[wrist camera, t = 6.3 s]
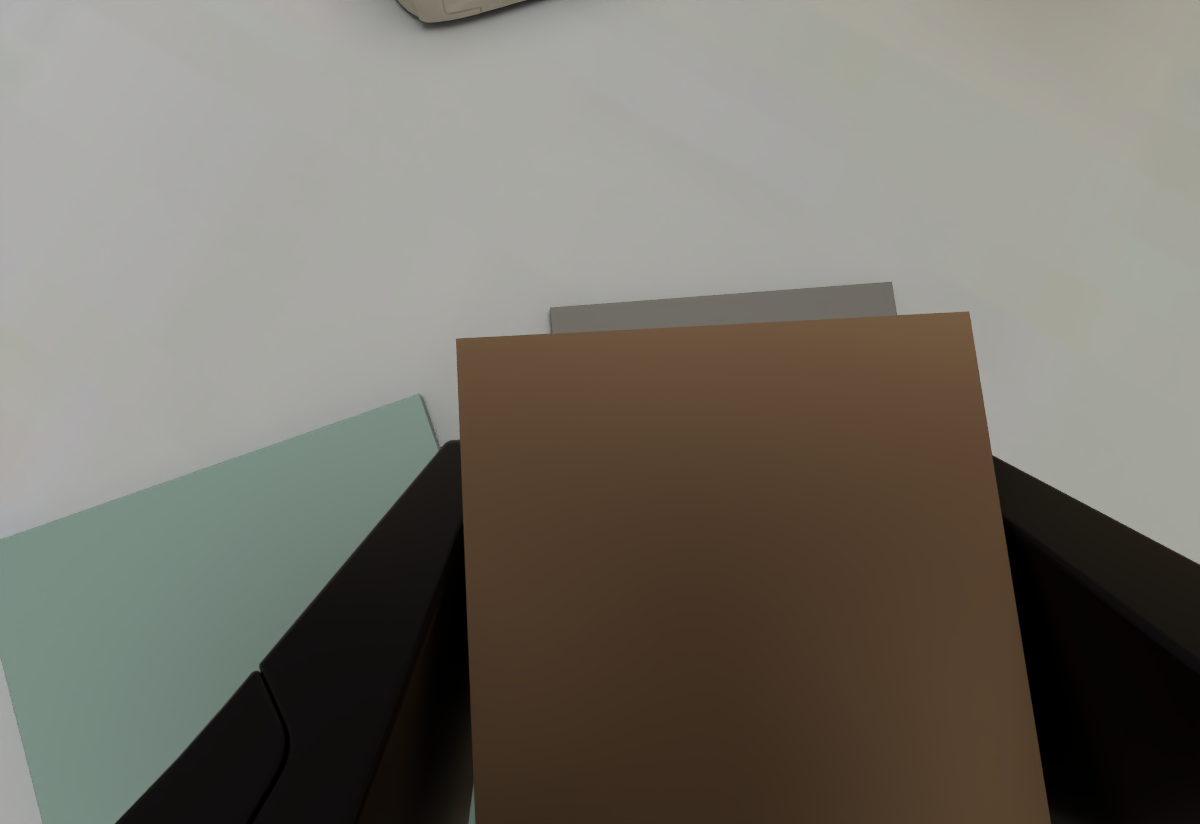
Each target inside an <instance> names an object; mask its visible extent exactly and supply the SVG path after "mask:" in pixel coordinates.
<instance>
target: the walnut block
mask: <svg viewBox="0 0 1200 824" xmlns="http://www.w3.org/2000/svg"><path fill="white" fill-rule="evenodd" d="M456 347H457V372H458V398H459V423H460V448H461V474H462V499H463V524H464V550H465V575H466V600H467V626H468V651H469V676H470V702H471V727H472V752H473V778H474V803H475V824H1051V820H1050V814H1049V808H1048V801H1047V795H1046V789H1045V783H1044V776H1043V770H1042V764H1041V758H1040V751H1039V745H1038V739H1037V733H1036V726H1035V720H1034V714H1033V708H1032V701H1031V695H1030V689H1029V683H1028V676H1027V670H1026V664H1025V658H1024V651H1023V645H1022V639H1021V633H1020V626H1019V620H1018V614H1017V608H1016V601H1015V595H1014V589H1013V583H1012V576H1011V570H1010V564H1009V558H1008V551H1007V545H1006V539H1005V533H1004V526H1003V520H1002V514H1001V508H1000V501H999V495H998V489H997V483H996V476H995V470H994V464H993V458H992V451H991V445H990V439H989V433H988V426H987V420H986V414H985V408H984V401H983V395H982V389H981V383H980V376H979V370H978V364H977V358H976V351H975V345H974V339H973V333H972V326H971V320H970V314H969V312H953V313H934V314H915V315H896V316H877V317H858V318H839V319H821V320H802V321H783V322H764V323H745V324H726V325H707V326H689V327H670V328H651V329H632V330H613V331H594V332H575V333H556V334H538V335H519V336H500V337H481V338H462V339H456Z"/></svg>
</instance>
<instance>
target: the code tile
mask: <svg viewBox="0 0 1200 824" xmlns="http://www.w3.org/2000/svg"><path fill="white" fill-rule="evenodd" d="M896 315H897V312H896V305H895V299H894V293H893V287H892V282H884V283H871V284H858V285H844V286H831V287H818V288H805V289H792V290H778V291H765V292H752V293H739V294H725V295H712V296H699V297H686V298H672V299H659V300H646V301H633V302H620V303H606V304H593V305H580V306H567V307H553V308H550V316H551V327H552V334H556V333H575V332H594V331H613V330H632V329H651V328H670V327H689V326H707V325H726V324H745V323H764V322H783V321H802V320H821V319H839V318H858V317H877V316H896Z"/></svg>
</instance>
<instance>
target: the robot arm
mask: <svg viewBox="0 0 1200 824" xmlns="http://www.w3.org/2000/svg"><path fill="white" fill-rule="evenodd" d="M992 458H993V464H994V470H995V476H996V483H997V489H998V495H999V501H1000V508H1001V514H1002V520H1003V526H1004V533H1005V539H1006V545H1007V551H1008V558H1009V564H1010V570H1011V576H1012V583H1013V589H1014V595H1015V601H1016V608H1017V614H1018V620H1019V626H1020V633H1021V639H1022V645H1023V651H1024V658H1025V664H1026V670H1027V676H1028V683H1029V689H1030V695H1031V701H1032V708H1033V714H1034V720H1035V726H1036V733H1037V739H1038V745H1039V751H1040V758H1041V764H1042V770H1043V776H1044V783H1045V789H1046V795H1047V801H1048V808H1049V814H1050V820H1051V824H1200V565H1199V564H1198V563H1196V562H1194V561H1192V560H1190V559H1188V558H1186V557H1184V556H1182V555H1181V554H1179V553H1177V552H1175V551H1173V550H1171V549H1169V548H1167V547H1165V546H1163V545H1162V544H1160V543H1158V542H1156V541H1154V540H1152V539H1150V538H1148V537H1146V536H1145V535H1143V534H1141V533H1139V532H1137V531H1135V530H1133V529H1131V528H1129V527H1127V526H1126V525H1124V524H1122V523H1120V522H1118V521H1116V520H1114V519H1112V518H1110V517H1108V516H1107V515H1105V514H1103V513H1101V512H1099V511H1097V510H1095V509H1093V508H1091V507H1090V506H1088V505H1086V504H1084V503H1082V502H1080V501H1078V500H1076V499H1074V498H1072V497H1071V496H1069V495H1067V494H1065V493H1063V492H1061V491H1059V490H1057V489H1055V488H1054V487H1052V486H1050V485H1048V484H1046V483H1044V482H1042V481H1040V480H1038V479H1036V478H1035V477H1033V476H1031V475H1029V474H1027V473H1025V472H1023V471H1021V470H1019V469H1018V468H1016V467H1014V466H1012V465H1010V464H1008V463H1006V462H1004V461H1002V460H1000V459H999V458H997V457H995V456H993V455H992ZM259 670H260V672H261V673H260V672H259V671H253V672H252V673H251V674H250V675H249V676H248V677H247V678H246V680H245V681H244V682H243V683H242V684H241V686H240V687H239V688H238V689H237V690H236V692H235V693H234V694H233V695H232V696H231V697H230V699H229V700H228V701H227V702H226V703H225V705H224V706H223V707H222V708H221V709H220V710H219V711H218V713H217V714H216V715H215V716H214V717H213V718H212V719H211V720H210V722H209V723H208V724H207V725H206V726H205V727H204V728H203V730H202V731H201V732H200V733H199V734H198V735H197V736H196V737H195V739H194V740H193V741H192V742H191V743H190V744H189V745H188V747H187V748H186V749H185V750H184V751H183V752H182V753H181V754H180V756H179V757H178V758H177V759H176V760H175V761H174V762H173V763H172V764H171V765H170V766H169V767H168V768H167V769H166V770H165V771H164V773H163V774H162V775H161V776H160V777H159V778H158V779H157V780H156V781H155V782H154V783H153V784H152V785H151V786H150V787H149V788H148V789H147V790H146V791H145V792H144V793H143V794H142V795H141V797H140V798H139V799H138V800H137V801H136V802H135V803H134V804H133V805H132V806H131V807H130V808H129V809H128V810H127V811H126V812H125V813H124V814H123V815H122V816H121V817H120V818H119V819H118V820H117V822H116V823H115V824H469V816H470V808H471V800H472V792H473V784H474V778H473V752H472V727H471V702H470V676H469V651H468V626H467V600H466V575H465V550H464V524H463V499H462V474H461V448H460V440H451V441H448V442H446V443H445V444H444V445H443V446H442V447H441V448H440V450H439V451H438V452H437V453H436V454H435V456H434V457H433V458H432V459H431V460H430V462H429V463H428V464H427V465H426V466H425V467H424V469H423V470H422V471H421V472H420V473H419V475H418V476H417V477H416V478H415V479H414V481H413V482H412V483H411V484H410V485H409V486H408V488H407V489H406V490H405V491H404V492H403V494H402V495H401V496H400V497H399V498H398V500H397V501H396V502H395V503H394V504H393V506H392V507H391V508H390V509H389V510H388V511H387V513H386V514H385V515H384V516H383V517H382V519H381V520H380V521H379V522H378V523H377V525H376V526H375V527H374V528H373V529H372V530H371V532H370V533H369V534H368V535H367V536H366V538H365V539H364V540H363V541H362V542H361V544H360V545H359V546H358V547H357V548H356V549H355V551H354V552H353V553H352V554H351V555H350V557H349V558H348V559H347V560H346V561H345V563H344V564H343V565H342V566H341V567H340V568H339V570H338V571H337V572H336V573H335V574H334V576H333V577H332V578H331V579H330V580H329V582H328V583H327V584H326V585H325V586H324V587H323V589H322V590H321V591H320V592H319V593H318V595H317V596H316V597H315V598H314V599H313V601H312V602H311V603H310V604H309V605H308V606H307V608H306V609H305V610H304V611H303V612H302V614H301V615H300V616H299V617H298V618H297V620H296V621H295V622H294V623H293V624H292V626H291V627H290V628H289V629H288V630H287V631H286V633H285V634H284V635H283V636H282V637H281V639H280V640H279V641H278V642H277V643H276V645H275V646H274V647H273V648H272V649H271V650H270V652H269V653H268V654H267V655H266V656H265V658H264V659H263V660H262V661H261V662H260V664H259Z"/></svg>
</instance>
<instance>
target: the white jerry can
mask: <svg viewBox="0 0 1200 824" xmlns="http://www.w3.org/2000/svg"><path fill="white" fill-rule="evenodd" d="M398 1H399V3H400V4H401V5H402V6H403V7H404V8H406V9H407V10H408V11H409V12H411V13H412V14H414V15H415V16H417V17H419V19H420V20H421V21H423V22H428V23H432V22H441V21H448V20H455V19H460V18H464V17H467V16H472V15H476V14H479V13H482V12H487V11H490V10H493V9H497V8H501V7H504V6H508V5H511V4H514V3H518V2H521V1H525V0H398Z"/></svg>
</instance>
